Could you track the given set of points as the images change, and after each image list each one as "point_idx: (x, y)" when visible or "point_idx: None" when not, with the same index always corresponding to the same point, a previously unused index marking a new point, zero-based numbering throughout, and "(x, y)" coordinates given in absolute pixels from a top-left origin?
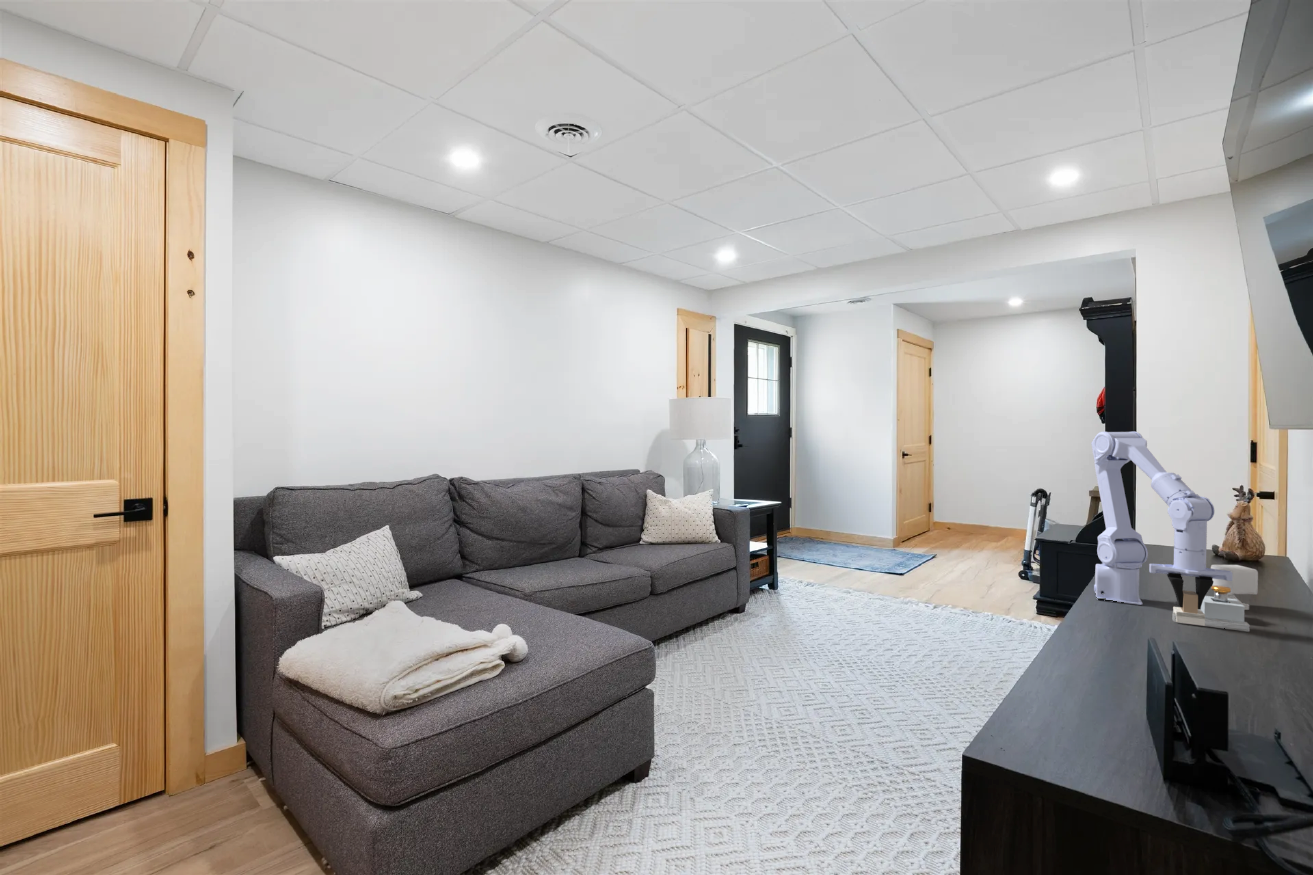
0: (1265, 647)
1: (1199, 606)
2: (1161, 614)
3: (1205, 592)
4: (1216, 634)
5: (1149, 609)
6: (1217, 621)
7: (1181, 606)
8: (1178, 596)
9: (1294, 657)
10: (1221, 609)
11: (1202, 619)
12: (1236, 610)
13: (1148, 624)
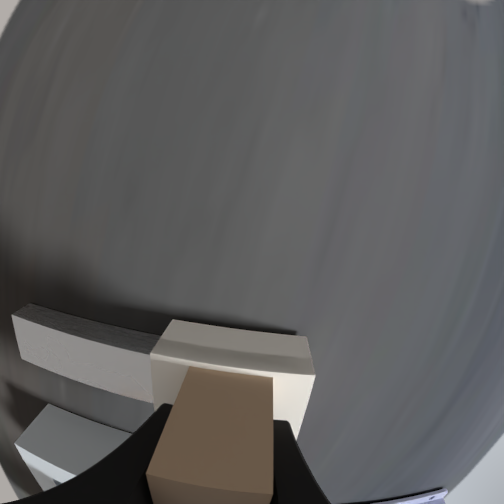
0: (39, 70)
1: (162, 414)
2: (313, 449)
3: (74, 484)
4: (152, 182)
5: (330, 484)
6: (107, 343)
7: (276, 422)
8: (307, 477)
9: (22, 11)
10: (84, 457)
11: (173, 338)
12: (42, 441)
13: (454, 244)
